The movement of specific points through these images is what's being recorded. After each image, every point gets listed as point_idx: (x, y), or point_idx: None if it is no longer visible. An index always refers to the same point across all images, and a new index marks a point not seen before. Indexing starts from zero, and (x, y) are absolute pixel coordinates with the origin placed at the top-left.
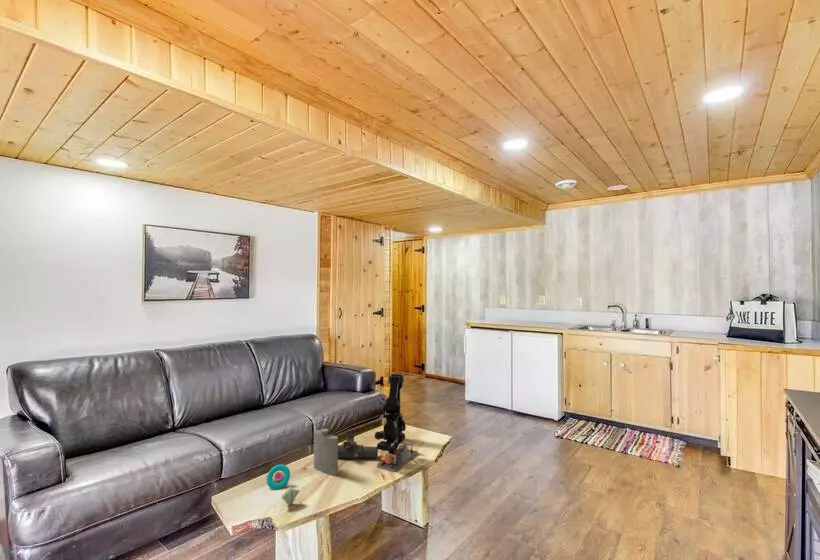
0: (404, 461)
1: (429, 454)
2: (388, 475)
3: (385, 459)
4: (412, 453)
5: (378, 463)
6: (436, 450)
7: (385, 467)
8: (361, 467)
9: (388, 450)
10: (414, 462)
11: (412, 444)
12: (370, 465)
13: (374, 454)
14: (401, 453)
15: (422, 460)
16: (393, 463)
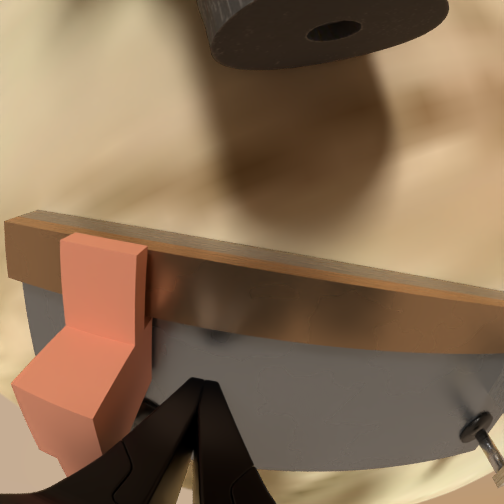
0: (254, 465)
1: (443, 481)
2: (4, 364)
3: (64, 338)
4: (444, 446)
5: (9, 238)
6: (485, 473)
7: (30, 332)
8: (6, 47)
9: (98, 472)
10: (309, 483)
11: (500, 479)
12: (56, 97)
13: (204, 19)
14: (454, 378)
15: (354, 498)
16: (150, 395)
